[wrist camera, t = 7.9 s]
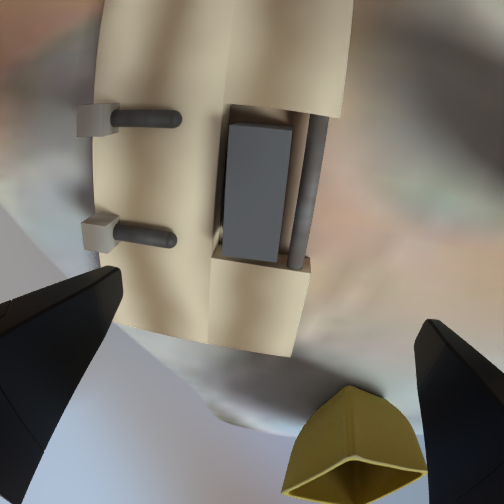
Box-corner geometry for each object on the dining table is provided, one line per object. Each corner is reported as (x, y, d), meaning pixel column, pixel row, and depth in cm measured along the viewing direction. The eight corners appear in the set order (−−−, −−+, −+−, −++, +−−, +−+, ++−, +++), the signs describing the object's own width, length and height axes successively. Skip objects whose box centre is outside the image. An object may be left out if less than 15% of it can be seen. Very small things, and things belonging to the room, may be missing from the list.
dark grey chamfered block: (293, 126, 18) (292, 131, 14) (280, 237, 21) (276, 262, 18) (241, 121, 18) (229, 125, 15) (233, 231, 21) (221, 255, 18)
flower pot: (285, 414, 28) (277, 495, 20) (342, 362, 25) (350, 457, 16) (354, 436, 29) (358, 509, 21) (412, 391, 25) (431, 472, 17)
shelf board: (348, 7, 14) (360, -14, 10) (291, 339, 24) (289, 375, 21) (121, 2, 15) (89, -11, 11) (120, 306, 25) (98, 335, 22)
